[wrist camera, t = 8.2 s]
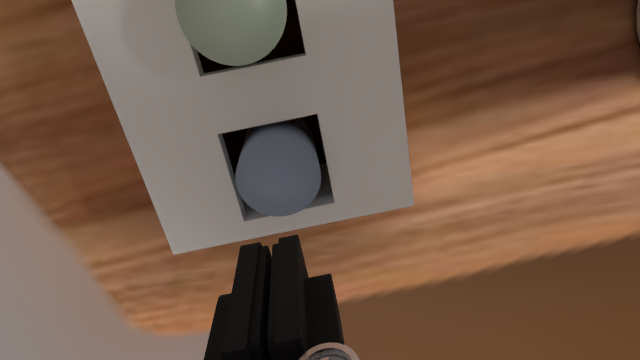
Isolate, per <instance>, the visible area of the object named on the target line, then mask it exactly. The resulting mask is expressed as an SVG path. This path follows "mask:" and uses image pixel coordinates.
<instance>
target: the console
mask: <svg viewBox="0 0 640 360" xmlns="http://www.w3.org/2000/svg"><path fill="white" fill-rule="evenodd" d="M71 1H72V4H73V6H74V9H75V11H76V14H77V16H78V19H79V21H80V24H81V26H82V29H83V31H84V33H85V36H86V38H87V41H88V43H89V46H90V48H91V51H92V53H93V56H94V58H95V61H96V63H97V66H98V68H99V71H100V73H101V76H102V78H103V81H104V83H105V86H106V88H107V91H108V93H109V96H110V98H111V101H112V103H113V106H114V108H115V111H116V113H117V116H118V118H119V121H120V123H121V126H122V128H123V131H124V133H125V136H126V138H127V141H128V143H129V145H130V148H131V150H132V153H133V155H134V158H135V160H136V163H137V165H138V168H139V170H140V173H141V175H142V178H143V180H144V183H145V185H146V188H147V190H148V193H149V195H150V198H151V200H152V203H153V205H154V208H155V210H156V213H157V215H158V218H159V220H160V223H161V225H162V228H163V230H164V233H165V235H166V238H167V240H168V243H169V245H170V248H171V250H172V253H173V255H175V254H180V253H185V252H189V251H194V250H199V249H204V248H209V247H214V246H219V245H224V244H229V243H233V242H238V241H243V240H248V239H253V238H258V237H263V236H268V235H273V234H277V233H282V232H287V231H292V230H297V229H302V228H307V227H312V226H317V225H322V224H326V223H331V222H336V221H341V220H346V219H351V218H356V217H361V216H366V215H370V214H375V213H380V212H385V211H390V210H395V209H400V208H405V207H410V206H414V199H413V189H412V179H411V170H410V160H409V150H408V141H407V131H406V121H405V111H404V102H403V92H402V82H401V72H400V63H399V53H398V43H397V33H396V24H395V14H394V4H393V0H295V3H296V8H297V14H298V19H299V24H300V29H301V34H302V39H303V45H304V50H305V53H301V54H297V55H292V56H287V57H282V58H277V59H272V60H267V61H262V62H257V63H253V64H248V65H243V66H238V67H233V68H228V69H223V70H218V71H213V72H209V73H204V71H203V68H202V65H201V61H200V58H199V55H198V51H197V50H196V49H195V48H194V47H193V46H192V45H191V44H190V42H189V41H188V40H187V38H186V37H185V35H184V33H183V31H182V30H181V28H180V25H179V22H178V19H177V15H176V9H175V0H71ZM314 114H317V117H318V122H319V127H320V132H321V137H322V143H323V148H324V153H325V158H326V163H322V164H319V166H320V171H321V184H320V188H319V191H318V193H317V195H316V197H315V198H314V200H313V201H312V202H311V203H310V204H309V205H308V206H307V207H306V208H304V209H303V210H301V211H299V212H297V213H295V214H292V215H288V216H279V217H277V216H269V215H265V214H262V213H260V212H257V211H256V210H254V209H252V208H251V207H250V206H249V205H248V204H247V203H246V202H245V201H244V200H243V199H242V197H241V196H240V194H239V192H238V189H237V186H236V179H235V175H234V172H233V169H232V165H231V162H230V159H229V155H228V152H227V148H226V145H225V142H224V138H223V135H222V133H226V132H231V131H236V130H241V129H246V128H251V127H256V126H261V125H265V124H270V123H275V122H280V121H285V120H290V119H295V118H300V117H305V116H309V115H314Z"/></svg>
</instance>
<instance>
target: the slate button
mask: <svg viewBox="0 0 640 360" xmlns="http://www.w3.org/2000/svg"><path fill="white" fill-rule="evenodd" d="M235 179H236V186H237V189H238V192H239V194H240V196H241V197H242V199H243V200H244V201H245V202H246V203H247V204H248V205H249V206H250V207H251V208H252V209H254V210H256V211H257V212H260V213H262V214H265V215H269V216H277V217H279V216H288V215H292V214H295V213H297V212H299V211H301V210H303V209H304V208H306V207H307V206H308V205H309V204H310V203H311V202H312V201H313V200H314V198H315V197H316V195H317V193H318V191H319V188H320V184H321V171H320V166H319V162H318V157H317V153H316V148H315V143H314V139H313V135H312V132H311V130H310V128H309V127H308V125H307V124H306V123H305V122H304V121H303V120H302V119H301V118H295V119H290V120H285V121H280V122H275V123H270V124H265V125H261V126H256V127H251V128H249V129H248V131H247V134H246V137H245V140H244V144H243V147H242V151H241V154H240V158H239V161H238V165H237V169H236V176H235Z"/></svg>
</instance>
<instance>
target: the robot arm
mask: <svg viewBox="0 0 640 360" xmlns="http://www.w3.org/2000/svg"><path fill="white" fill-rule="evenodd" d="M637 33H638V37H639V42H640V0H638V5H637ZM204 360H359V358H358V357H357V355H356V353H355V352H354V351H353V350H352V349H351V348H349V347H348V346H346V345H345V344H344V338H343V332H342V326H341V320H340V315H339V310H338V304H337V299H336V295H335V290H334V285H333V281H332V276H331V274H326V275H321V276H316V277H311V278H309V277H308V273H307V269H306V265H305V261H304V257H303V253H302V249H301V245H300V241H299V237H298V235H293V236H288V237H283V238H279V243H278V244H273V248H272V257H271V253H270V250H269V247H268V246H263V247H262V245H261V243H260V242H258V243H253V244H248V245H243V246H241V247H240V252H239V257H238V262H237V268H236V273H235V278H234V283H233V288H232V293H231V294H226V295H221V296H220V297H219V298H218V301H217V305H216V310H215V314H214V318H213V323H212V327H211V331H210V335H209V340H208V344H207V348H206V352H205V357H204Z"/></svg>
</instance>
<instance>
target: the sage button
mask: <svg viewBox="0 0 640 360" xmlns="http://www.w3.org/2000/svg"><path fill="white" fill-rule="evenodd" d="M175 9H176V15H177V19H178V22H179V25H180V28H181V30H182V31H183V33H184V35H185V37H186V38H187V40H188V41H189V42H190V44H191V45H192V46H193V47H194V48H195V49H196V50H197V51H198V52H199V53H201V54H202V55H204V56H205V57H207V58H208V59H210V60H212V61H215V62H217V63H220V64H224V65H230V66H241V65H247V64H251V63H254V62H256V61H258V60H260V59H262V58H263V57H265V56H266V55H267V54H269V53H270V52H271V51H272V50H273V49H274V48H275V46H276V45H277V43H278V42H279V40H280V38H281V36H282V34H283V31H284V29H285V24H286V18H287V4H286V0H175Z"/></svg>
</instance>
